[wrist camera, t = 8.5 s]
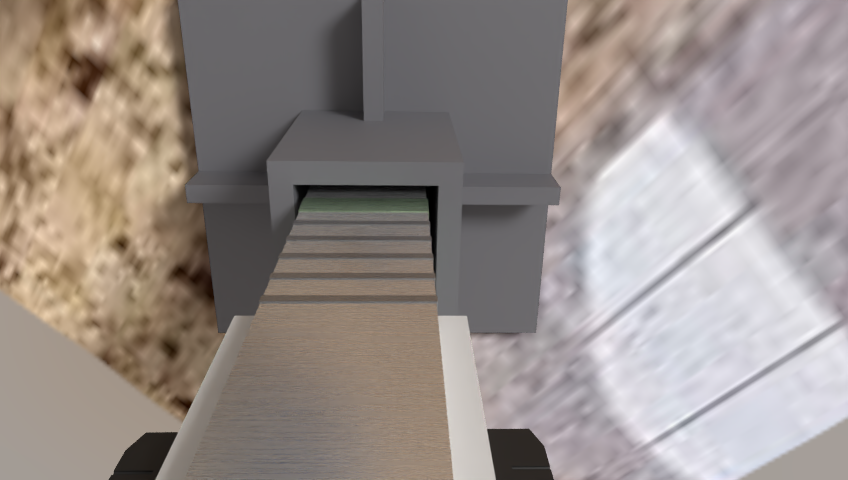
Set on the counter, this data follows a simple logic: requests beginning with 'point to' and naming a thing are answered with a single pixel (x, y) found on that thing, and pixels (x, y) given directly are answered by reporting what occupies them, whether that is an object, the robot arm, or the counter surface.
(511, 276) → the jack base
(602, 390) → the counter surface
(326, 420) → the post
